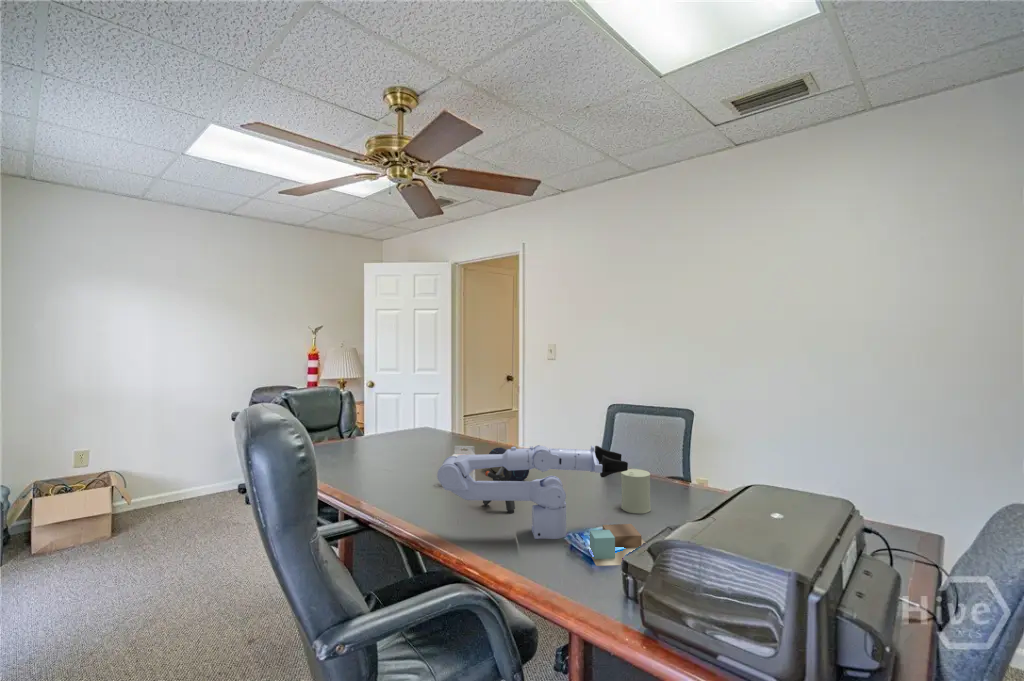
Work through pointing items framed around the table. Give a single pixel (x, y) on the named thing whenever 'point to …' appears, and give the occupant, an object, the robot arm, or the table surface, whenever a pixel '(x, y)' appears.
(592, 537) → the teal cube
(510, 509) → the hand grip strengthener
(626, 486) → the can
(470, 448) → the ink cartridge box
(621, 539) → the walnut base
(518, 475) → the portable speaker
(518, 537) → the table surface
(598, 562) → the birch board
